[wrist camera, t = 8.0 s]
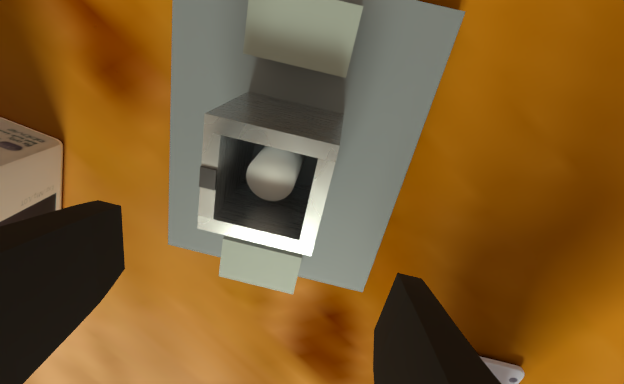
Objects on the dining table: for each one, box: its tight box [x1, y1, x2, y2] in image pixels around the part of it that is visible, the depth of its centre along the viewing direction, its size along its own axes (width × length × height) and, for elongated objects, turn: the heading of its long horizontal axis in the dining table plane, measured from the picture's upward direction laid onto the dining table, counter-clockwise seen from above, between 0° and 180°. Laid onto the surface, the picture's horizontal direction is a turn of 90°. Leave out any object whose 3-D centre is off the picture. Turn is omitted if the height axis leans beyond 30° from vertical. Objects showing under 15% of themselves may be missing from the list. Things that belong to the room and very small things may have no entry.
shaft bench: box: [168, 0, 465, 294], centre depth 15 cm, size 15×12×4 cm
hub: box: [197, 91, 344, 256], centre depth 14 cm, size 5×5×5 cm
